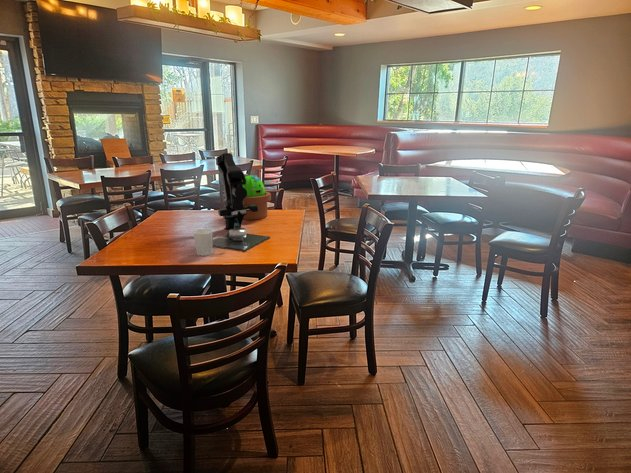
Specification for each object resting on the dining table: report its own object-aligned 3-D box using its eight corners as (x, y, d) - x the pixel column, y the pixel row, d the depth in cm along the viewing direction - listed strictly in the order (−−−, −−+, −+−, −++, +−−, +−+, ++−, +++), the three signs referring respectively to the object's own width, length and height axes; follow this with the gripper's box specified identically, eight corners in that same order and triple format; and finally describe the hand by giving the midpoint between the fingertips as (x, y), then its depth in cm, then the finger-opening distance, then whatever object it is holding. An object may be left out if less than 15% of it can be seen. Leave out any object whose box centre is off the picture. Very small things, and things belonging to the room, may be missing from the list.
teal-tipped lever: (247, 237, 192) (247, 231, 191) (230, 239, 190) (229, 232, 189) (244, 228, 208) (244, 222, 207) (228, 229, 206) (227, 223, 205)
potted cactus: (226, 216, 244) (223, 174, 237) (258, 210, 258) (256, 170, 250) (245, 223, 228) (243, 178, 221) (278, 216, 241) (277, 174, 234)
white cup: (204, 257, 174) (202, 235, 171) (191, 254, 178) (189, 232, 175) (217, 252, 181) (216, 230, 178) (205, 249, 185) (203, 228, 182)
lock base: (201, 244, 191) (201, 239, 190) (229, 232, 210) (229, 228, 209) (245, 251, 182) (244, 246, 181) (270, 238, 201) (270, 233, 200)
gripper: (251, 191, 209) (254, 221, 213) (214, 195, 202) (218, 226, 206) (257, 194, 199) (260, 225, 203) (218, 199, 192) (222, 231, 196)
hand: (240, 227), depth 203 cm, fingers closed
